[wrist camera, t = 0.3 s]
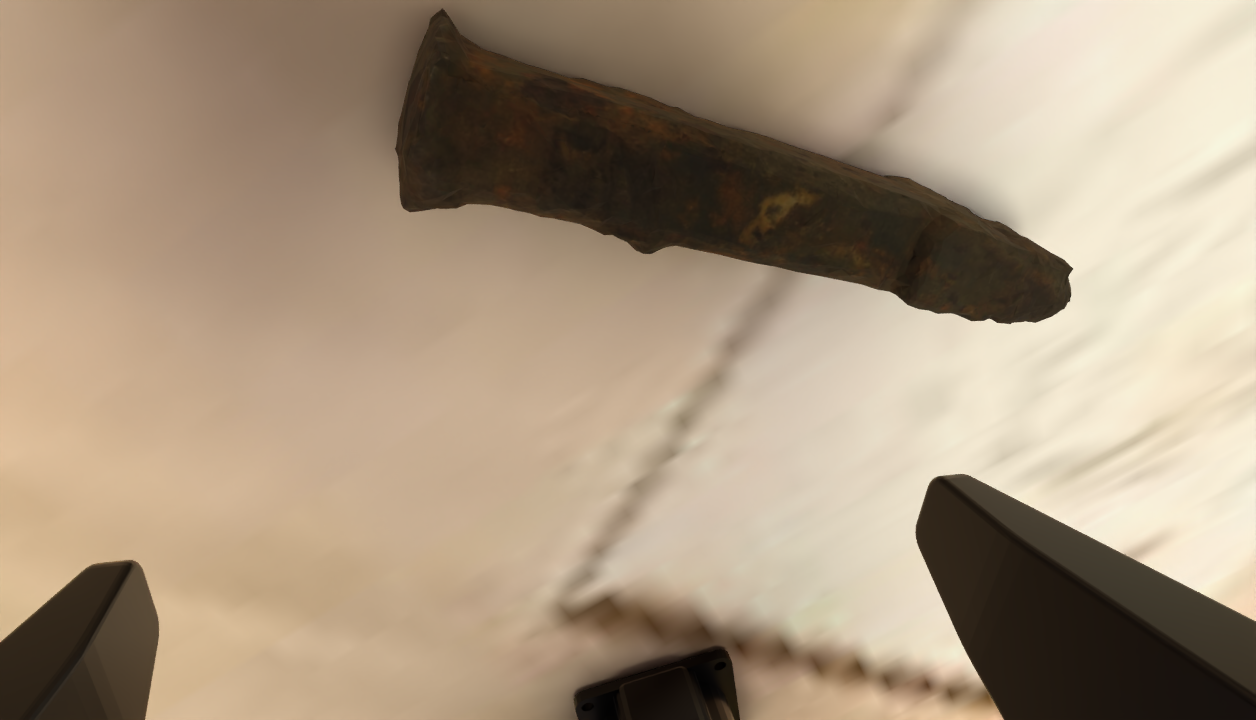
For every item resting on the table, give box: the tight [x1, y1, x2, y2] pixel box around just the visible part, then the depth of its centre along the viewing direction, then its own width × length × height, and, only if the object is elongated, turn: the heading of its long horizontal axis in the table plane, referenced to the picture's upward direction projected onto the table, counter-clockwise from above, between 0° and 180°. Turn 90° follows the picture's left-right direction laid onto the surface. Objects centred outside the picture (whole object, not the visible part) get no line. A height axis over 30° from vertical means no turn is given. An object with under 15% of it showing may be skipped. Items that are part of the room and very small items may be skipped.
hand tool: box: [395, 9, 1073, 324], centre depth 21 cm, size 19×4×5 cm, turn 69°
